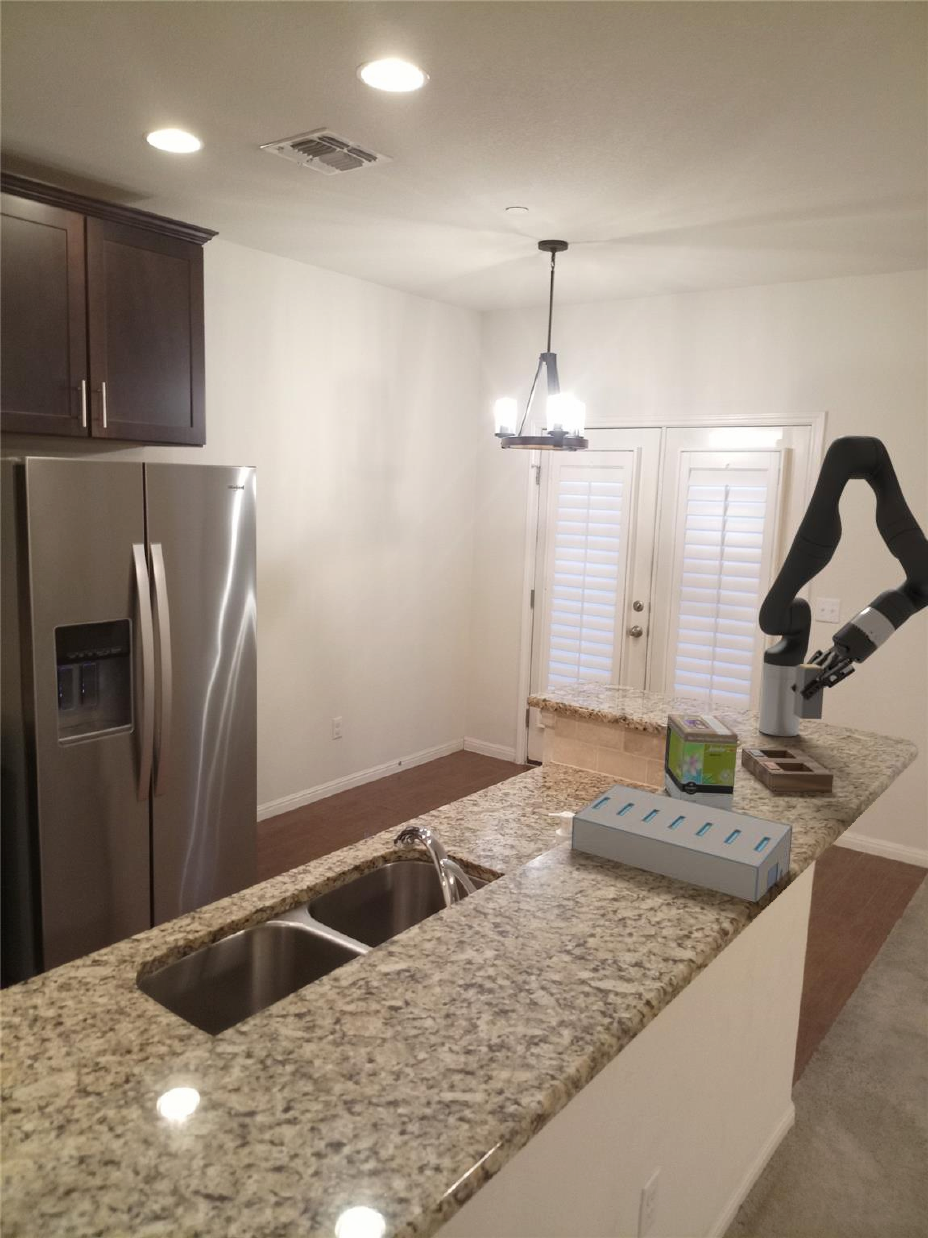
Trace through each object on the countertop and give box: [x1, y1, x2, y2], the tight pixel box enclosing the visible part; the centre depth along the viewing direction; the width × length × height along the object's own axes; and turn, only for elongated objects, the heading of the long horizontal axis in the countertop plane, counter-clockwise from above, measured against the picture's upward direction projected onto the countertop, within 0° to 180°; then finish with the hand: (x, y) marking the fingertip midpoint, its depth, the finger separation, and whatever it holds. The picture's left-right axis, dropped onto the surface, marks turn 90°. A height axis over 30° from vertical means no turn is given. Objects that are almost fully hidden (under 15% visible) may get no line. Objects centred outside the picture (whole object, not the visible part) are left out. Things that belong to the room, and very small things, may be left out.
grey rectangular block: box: [793, 663, 825, 720], centre depth 178 cm, size 4×4×10 cm
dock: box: [740, 747, 834, 793], centre depth 183 cm, size 18×12×4 cm, turn 1°
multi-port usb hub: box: [570, 783, 793, 904], centre depth 140 cm, size 30×14×8 cm, turn 52°
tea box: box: [663, 713, 739, 811], centre depth 168 cm, size 15×10×15 cm
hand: (799, 693), depth 178 cm, fingers closed on grey rectangular block, 4 cm apart
